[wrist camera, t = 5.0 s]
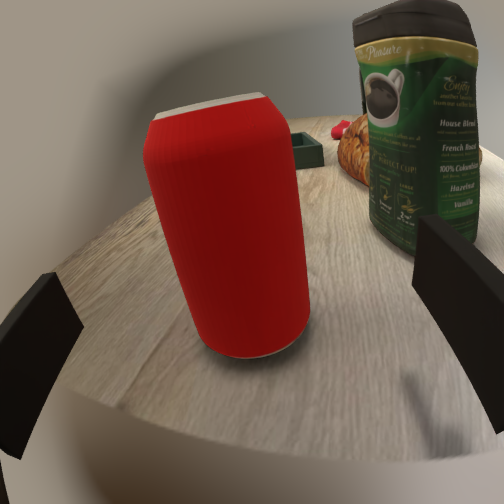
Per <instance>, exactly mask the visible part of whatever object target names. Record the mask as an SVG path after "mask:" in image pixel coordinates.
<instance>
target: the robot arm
mask: <svg viewBox="0 0 504 504" xmlns="http://www.w3.org/2000/svg"><path fill="white" fill-rule="evenodd" d="M412 286H413V288H414V289H415V291H416V292H417V294H418V295H419V297H420V298H421V300H422V301H423V303H424V304H425V306H426V307H427V309H428V310H429V312H430V314H431V315H432V317H433V318H434V320H435V321H436V323H437V325H438V326H439V328H440V330H441V331H442V333H443V334H444V336H445V338H446V339H447V341H448V343H449V344H450V346H451V348H452V350H453V351H454V353H455V355H456V357H457V358H458V360H459V362H460V364H461V365H462V367H463V369H464V371H465V373H466V374H467V376H468V378H469V380H470V382H471V384H472V386H473V388H474V389H475V391H476V393H477V395H478V397H479V399H480V401H481V403H482V405H483V407H484V409H485V411H486V413H487V415H488V418H489V420H490V422H491V424H492V426H493V428H494V431H495V433H496V435H497V434H499V433H500V432H502V431H504V274H503V273H502V272H501V271H500V270H499V269H498V268H497V267H496V266H495V265H494V264H493V263H492V262H491V261H490V260H489V259H488V258H486V257H485V256H484V255H483V254H482V253H481V252H480V251H479V250H478V249H477V248H476V247H475V246H474V245H473V244H471V243H470V242H469V241H468V240H467V239H466V238H465V237H464V236H462V235H461V234H460V233H459V232H458V231H457V230H456V229H454V228H453V227H452V226H451V225H450V224H449V223H447V222H446V221H445V220H444V219H443V218H441V217H440V216H439V215H438V214H432V215H425V216H418V230H417V242H416V253H415V262H414V271H413V279H412ZM83 328H84V326H83V324H82V322H81V321H80V319H79V317H78V315H77V313H76V311H75V310H74V308H73V306H72V304H71V302H70V300H69V298H68V296H67V295H66V293H65V291H64V289H63V287H62V285H61V283H60V281H59V279H58V276H57V274H56V272H52V273H46V274H42V275H41V276H40V277H39V279H38V280H37V281H36V282H35V283H34V284H33V285H32V287H31V288H30V289H29V290H28V291H27V293H26V294H25V295H24V296H23V297H22V299H21V300H20V301H19V302H18V303H17V305H16V306H15V307H14V308H13V310H12V311H11V312H10V313H9V315H8V316H7V317H6V319H5V320H4V321H3V322H2V324H1V325H0V449H1V450H2V451H4V452H5V453H6V454H7V455H10V456H12V457H15V458H17V459H19V460H21V458H22V455H23V452H24V450H25V448H26V445H27V443H28V440H29V438H30V435H31V433H32V431H33V428H34V426H35V424H36V421H37V419H38V417H39V415H40V412H41V410H42V408H43V406H44V404H45V402H46V399H47V397H48V395H49V393H50V391H51V389H52V387H53V385H54V383H55V381H56V379H57V377H58V375H59V373H60V371H61V369H62V367H63V365H64V363H65V361H66V359H67V357H68V355H69V354H70V352H71V350H72V348H73V346H74V344H75V342H76V341H77V339H78V337H79V335H80V333H81V332H82V330H83ZM0 504H9V500H8V496H7V491H6V487H5V483H4V478H3V473H2V467H1V462H0Z"/></svg>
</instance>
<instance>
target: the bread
mask: <svg viewBox="0 0 504 504" xmlns="http://www.w3.org/2000/svg"><path fill="white" fill-rule="evenodd" d="M337 154H338V162H339V164H340V166H341V167H342V168H343V169H344V170H345V171H346V172H347V173H348V174H349V175H351V176H352V177H353V178H356V179H358V180H360V181H362V182H363V183H364V184H366V185H367V186H369V135H368V118H367V113H366V114H364V115H363V116H361V117H359V118H358V119H357V120H356V121H354V122H353V123H352V124H351V125H350V126H349V127H348V128H347V130H346V131H345V133H344V134H343V136H342V138H341V140H340V142H339V146H338V151H337ZM481 162H482V151H481V149H480V148H479V167H480V165H481Z"/></svg>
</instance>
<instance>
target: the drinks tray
mask: <svg viewBox="0 0 504 504" xmlns="http://www.w3.org/2000/svg"><path fill="white" fill-rule="evenodd" d="M291 140H292V147H293V154H294V162H295V169H296V170H297V169H304V168H312V167H320V166H324V157H323V148H322V144H320V143H319V142H318V141H316V140H315V139H314V138H312V137H311V136H310V135H308V134H307V133H305V132H300V133H292V134H291Z"/></svg>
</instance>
